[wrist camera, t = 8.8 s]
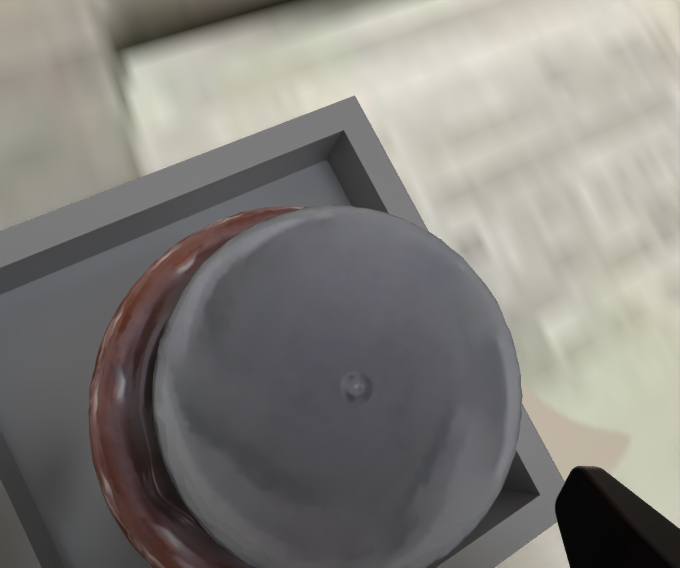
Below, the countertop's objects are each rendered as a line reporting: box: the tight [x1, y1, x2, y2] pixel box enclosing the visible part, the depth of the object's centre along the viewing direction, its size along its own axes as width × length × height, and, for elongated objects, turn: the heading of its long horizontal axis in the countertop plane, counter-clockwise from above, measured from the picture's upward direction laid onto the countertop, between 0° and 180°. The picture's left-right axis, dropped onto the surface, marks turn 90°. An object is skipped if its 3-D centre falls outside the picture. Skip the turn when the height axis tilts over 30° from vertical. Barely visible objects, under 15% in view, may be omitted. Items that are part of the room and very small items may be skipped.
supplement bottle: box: [88, 205, 522, 568], centre depth 12 cm, size 6×6×11 cm
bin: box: [0, 96, 565, 568], centre depth 17 cm, size 13×13×3 cm
